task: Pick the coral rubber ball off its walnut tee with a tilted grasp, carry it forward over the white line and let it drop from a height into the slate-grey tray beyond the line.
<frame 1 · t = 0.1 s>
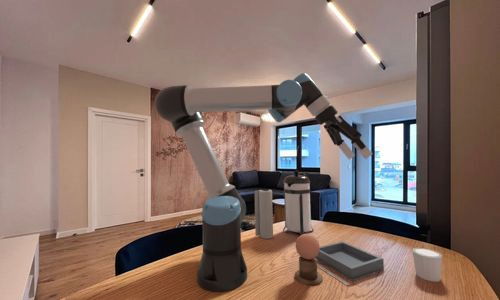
hand: (359, 157, 76), 36 cm above the table, tool tilted 35°, fingers open, 13 cm apart
tee: (308, 277, 64), on the table
line: (323, 268, 69), on the table
ball: (307, 258, 64), point 6 cm above the table, touching tee
white short cylinder: (428, 276, 63), on the table
gray grooved column: (265, 237, 98), on the table
tray: (346, 263, 72), on the table
coffee press: (298, 231, 105), on the table
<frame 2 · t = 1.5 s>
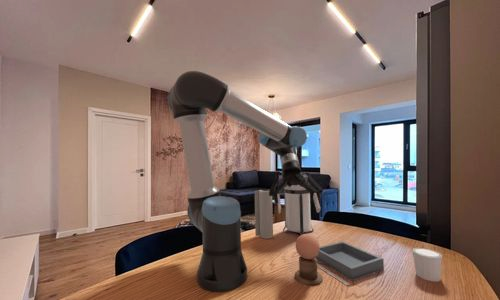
hand: (299, 210, 75), 17 cm above the table, tool tilted 45°, fingers open, 13 cm apart
nothing on the table moved.
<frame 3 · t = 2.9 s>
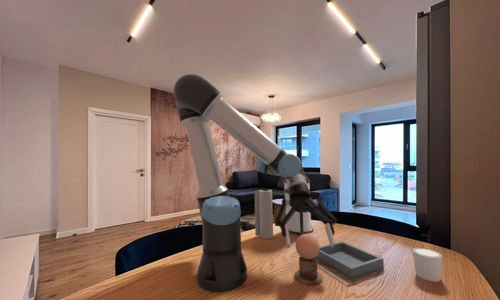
hand: (311, 246, 65), 9 cm above the table, tool tilted 45°, fingers open, 13 cm apart
nothing on the table moved.
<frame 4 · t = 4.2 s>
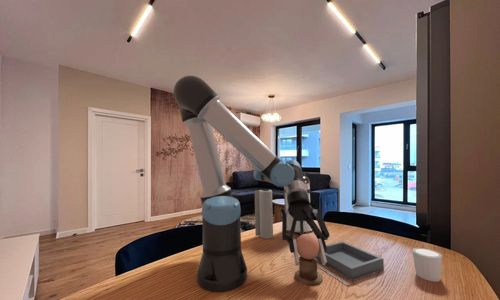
hand: (311, 263, 60), 6 cm above the table, tool tilted 45°, fingers closed on ball, 7 cm apart
ball: (307, 258, 64), point 6 cm above the table, touching gripper, tee
everything else where it was.
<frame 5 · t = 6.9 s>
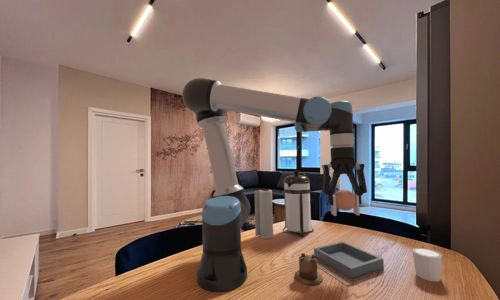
hand: (345, 214, 72), 16 cm above the table, tool pointing down, fingers closed on ball, 7 cm apart
ball: (341, 205, 75), point 19 cm above the table, tilted 45°, touching gripper
everything else where it was.
when the fingers open (8 cm above the table, at t = 7.9 s): ball drops 8 cm, resting on tray.
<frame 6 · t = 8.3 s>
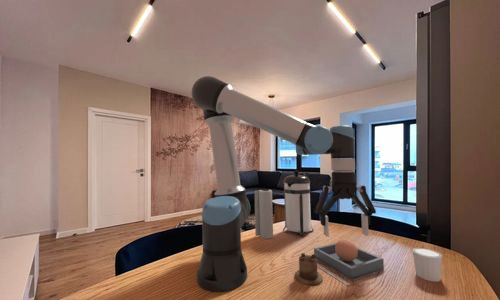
hand: (345, 234, 72), 10 cm above the table, tool pointing down, fingers open, 12 cm apart
ball: (343, 254, 74), point 2 cm above the table, tilted 45°, touching tray
everything else where it was.
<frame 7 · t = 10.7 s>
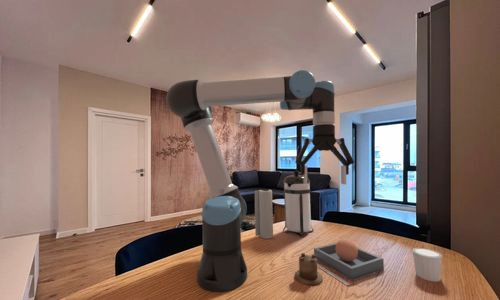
hand: (324, 184, 77), 26 cm above the table, tool pointing down, fingers open, 13 cm apart
nothing on the table moved.
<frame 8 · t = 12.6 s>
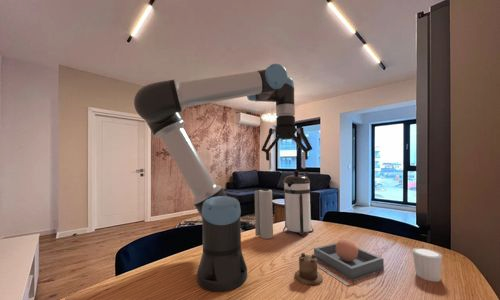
hand: (287, 168, 86), 32 cm above the table, tool pointing down, fingers open, 13 cm apart
nothing on the table moved.
at the end: ball inside the target area on the tray (2.6 cm from its centre), point 2.0 cm above the tray's base; the gripper is holding nothing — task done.
